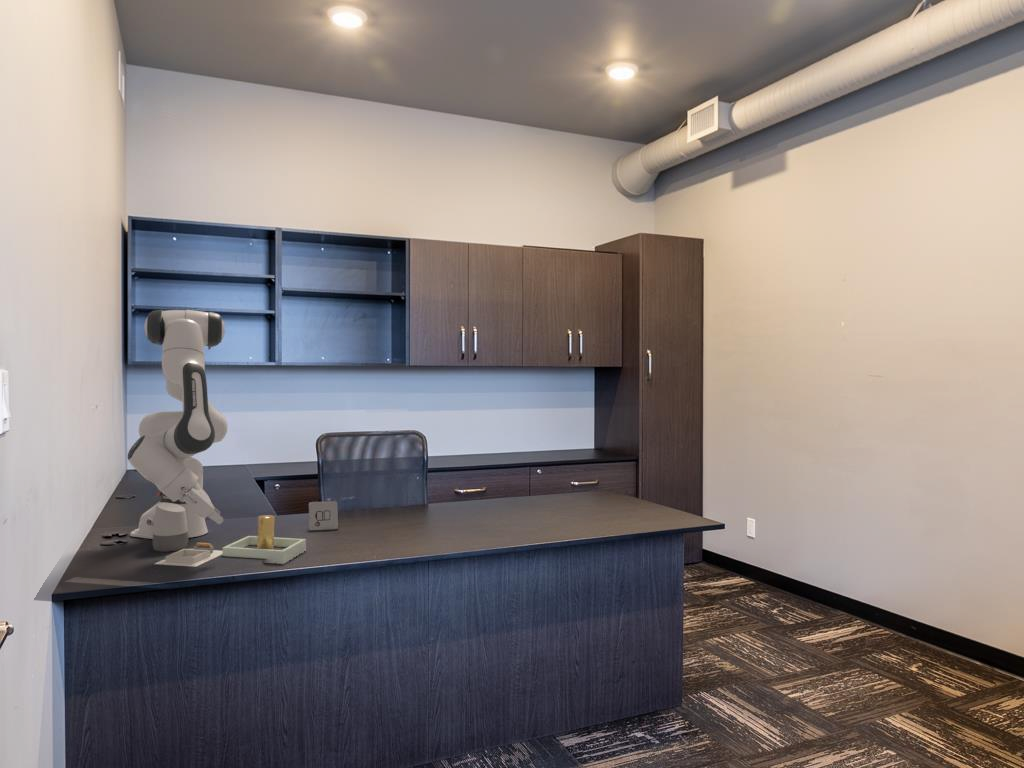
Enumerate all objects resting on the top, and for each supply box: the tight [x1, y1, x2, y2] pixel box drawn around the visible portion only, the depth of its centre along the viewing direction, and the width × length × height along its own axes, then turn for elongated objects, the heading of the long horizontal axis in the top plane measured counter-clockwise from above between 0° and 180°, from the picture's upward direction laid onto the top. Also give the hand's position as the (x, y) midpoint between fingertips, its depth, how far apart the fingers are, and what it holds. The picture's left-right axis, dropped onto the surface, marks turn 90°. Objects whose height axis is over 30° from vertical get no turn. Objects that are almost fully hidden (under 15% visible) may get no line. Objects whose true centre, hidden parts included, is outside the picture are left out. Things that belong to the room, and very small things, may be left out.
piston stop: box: [256, 514, 276, 550], centre depth 202 cm, size 4×4×10 cm
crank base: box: [154, 542, 223, 567], centre depth 195 cm, size 12×16×4 cm
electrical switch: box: [308, 500, 339, 532], centre depth 237 cm, size 9×5×9 cm, turn 110°
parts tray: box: [221, 535, 307, 565], centre depth 202 cm, size 18×14×4 cm
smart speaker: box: [152, 502, 189, 553], centre depth 204 cm, size 10×9×14 cm
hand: (219, 518), depth 196 cm, fingers open, 8 cm apart
